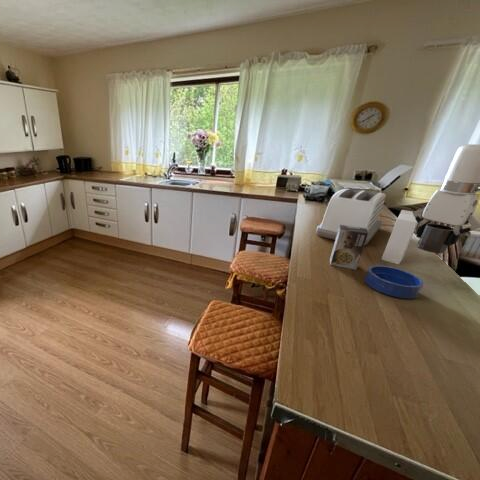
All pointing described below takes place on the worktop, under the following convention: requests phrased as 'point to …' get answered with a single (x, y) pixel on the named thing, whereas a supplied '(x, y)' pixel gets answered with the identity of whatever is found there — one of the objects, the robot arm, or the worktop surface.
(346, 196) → the toaster
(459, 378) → the worktop surface
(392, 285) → the bowl
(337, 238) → the coffee box
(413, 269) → the worktop surface
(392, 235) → the milk
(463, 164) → the robot arm
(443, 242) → the cup
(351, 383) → the worktop surface
